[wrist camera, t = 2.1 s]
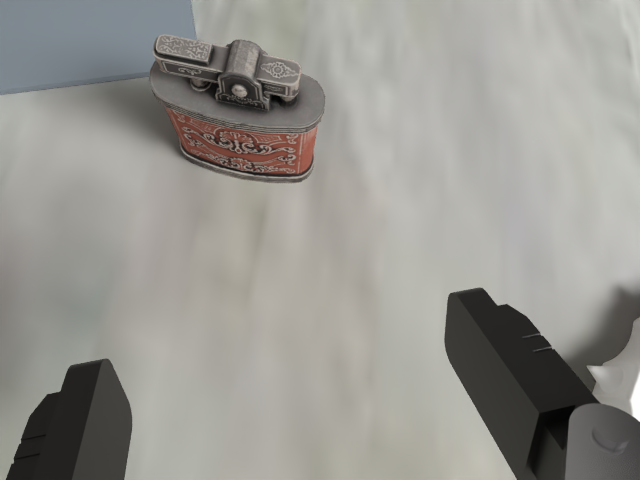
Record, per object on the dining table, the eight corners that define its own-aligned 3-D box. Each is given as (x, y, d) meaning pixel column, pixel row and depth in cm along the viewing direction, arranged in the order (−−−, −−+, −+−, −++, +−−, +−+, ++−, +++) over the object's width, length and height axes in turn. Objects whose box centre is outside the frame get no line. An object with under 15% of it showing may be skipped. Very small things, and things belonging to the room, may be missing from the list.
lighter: (318, 141, 30) (337, 39, 20) (308, 192, 29) (323, 111, 19) (189, 115, 29) (144, -2, 20) (175, 166, 29) (121, 71, 19)
